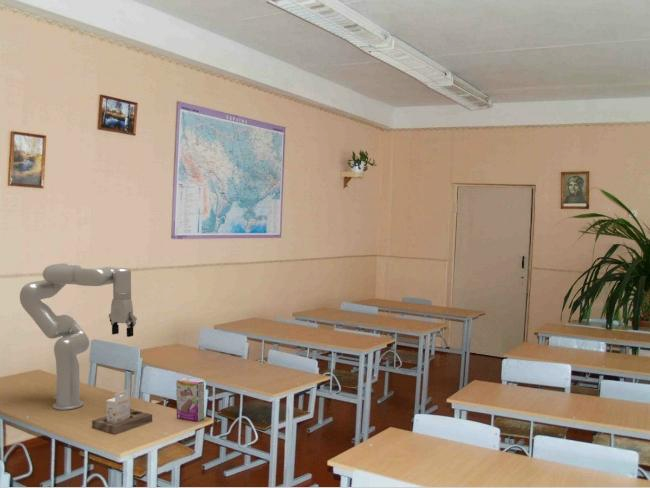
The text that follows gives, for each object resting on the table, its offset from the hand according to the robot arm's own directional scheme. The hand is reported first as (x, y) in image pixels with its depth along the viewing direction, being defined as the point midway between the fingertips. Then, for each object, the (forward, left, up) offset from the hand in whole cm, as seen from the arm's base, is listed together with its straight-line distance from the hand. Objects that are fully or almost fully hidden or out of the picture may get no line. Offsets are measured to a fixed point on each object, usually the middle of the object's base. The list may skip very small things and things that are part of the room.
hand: (122, 335), depth 281 cm
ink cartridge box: (+16, -15, -34) cm, 40 cm away
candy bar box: (+33, +8, -34) cm, 48 cm away
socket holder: (+16, -13, -33) cm, 39 cm away
